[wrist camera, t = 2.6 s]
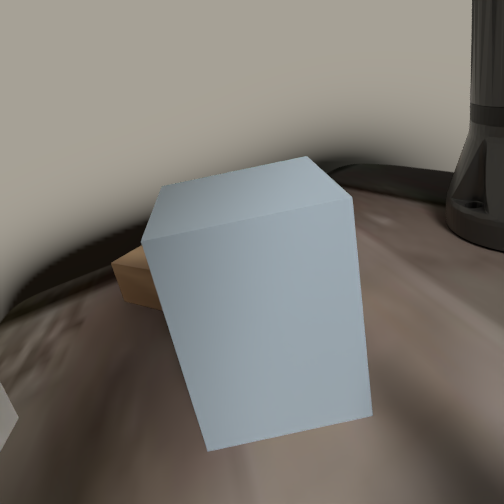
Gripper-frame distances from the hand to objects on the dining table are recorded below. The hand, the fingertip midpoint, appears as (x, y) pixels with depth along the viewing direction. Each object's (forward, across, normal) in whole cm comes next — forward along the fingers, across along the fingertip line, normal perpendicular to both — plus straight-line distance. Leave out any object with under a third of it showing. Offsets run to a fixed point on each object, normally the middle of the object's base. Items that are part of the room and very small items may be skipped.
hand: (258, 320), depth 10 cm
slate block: (+10, 0, -10) cm, 15 cm away
